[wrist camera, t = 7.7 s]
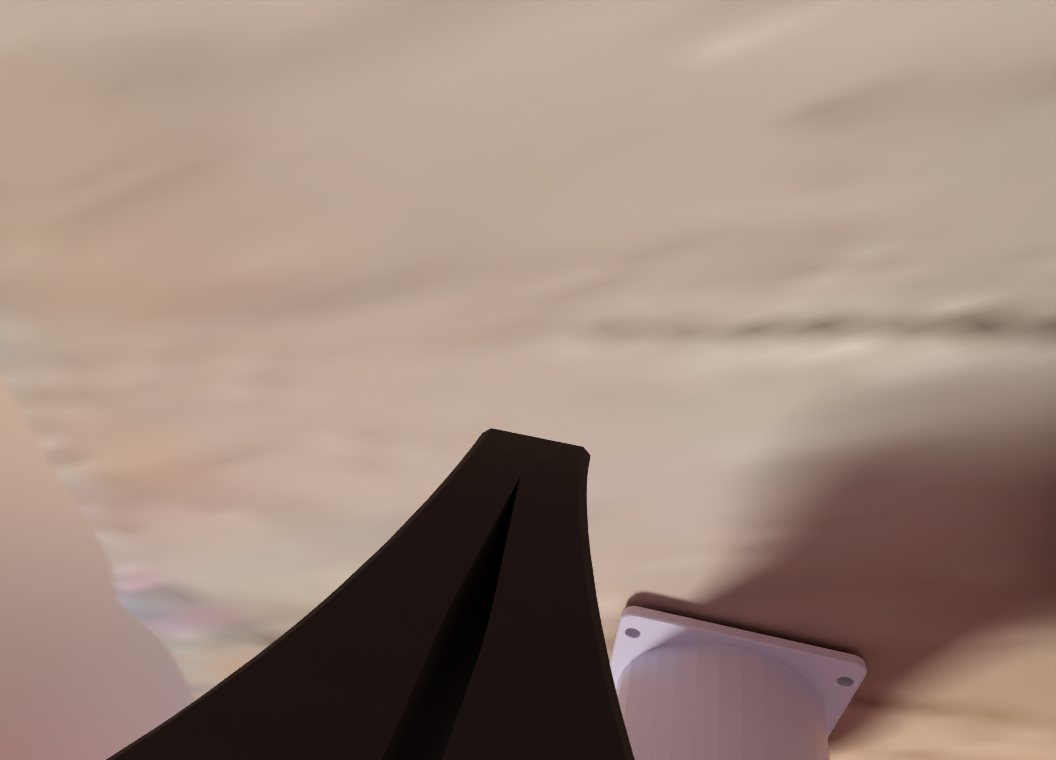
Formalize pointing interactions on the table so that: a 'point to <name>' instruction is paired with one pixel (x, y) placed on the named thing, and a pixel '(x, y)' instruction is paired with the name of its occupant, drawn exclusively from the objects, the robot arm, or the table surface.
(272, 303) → the table surface
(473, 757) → the robot arm
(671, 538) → the table surface
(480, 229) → the table surface
